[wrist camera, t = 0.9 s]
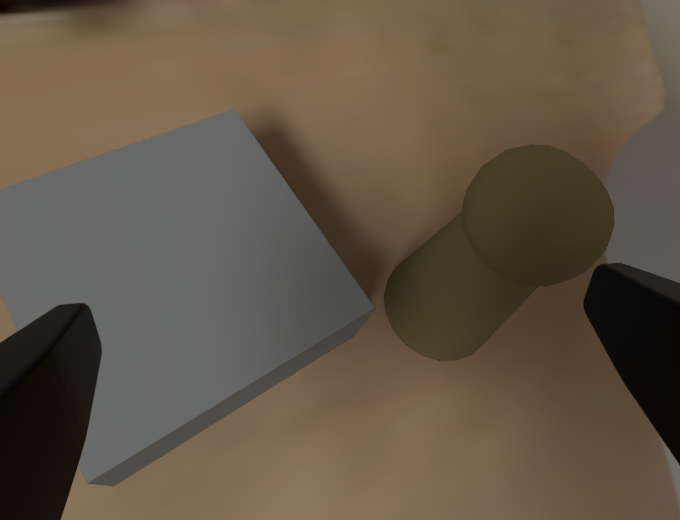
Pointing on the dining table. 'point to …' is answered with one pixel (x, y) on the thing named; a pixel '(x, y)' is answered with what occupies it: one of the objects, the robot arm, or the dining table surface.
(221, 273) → the podium
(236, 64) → the dining table surface
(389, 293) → the cork
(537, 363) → the dining table surface
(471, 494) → the dining table surface
